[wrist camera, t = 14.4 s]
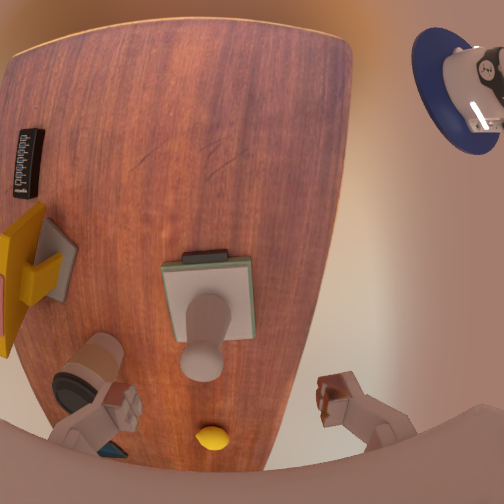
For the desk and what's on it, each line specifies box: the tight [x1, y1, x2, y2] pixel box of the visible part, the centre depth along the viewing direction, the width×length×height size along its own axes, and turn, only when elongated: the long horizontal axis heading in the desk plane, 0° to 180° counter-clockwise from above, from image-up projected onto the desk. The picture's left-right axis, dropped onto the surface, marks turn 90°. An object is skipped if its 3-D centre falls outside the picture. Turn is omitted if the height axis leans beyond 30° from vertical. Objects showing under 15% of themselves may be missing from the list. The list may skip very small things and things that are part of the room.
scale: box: [161, 249, 256, 342], centre depth 37 cm, size 12×13×3 cm
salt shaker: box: [180, 294, 231, 382], centre depth 30 cm, size 6×6×13 cm
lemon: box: [196, 426, 229, 450], centre depth 45 cm, size 7×5×5 cm
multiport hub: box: [13, 128, 45, 199], centre depth 30 cm, size 4×11×2 cm, turn 169°
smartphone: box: [97, 442, 128, 458], centre depth 50 cm, size 8×15×1 cm, turn 108°
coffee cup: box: [52, 332, 124, 415], centre depth 33 cm, size 9×9×15 cm
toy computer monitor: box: [0, 202, 78, 359], centre depth 28 cm, size 20×8×16 cm, turn 150°
